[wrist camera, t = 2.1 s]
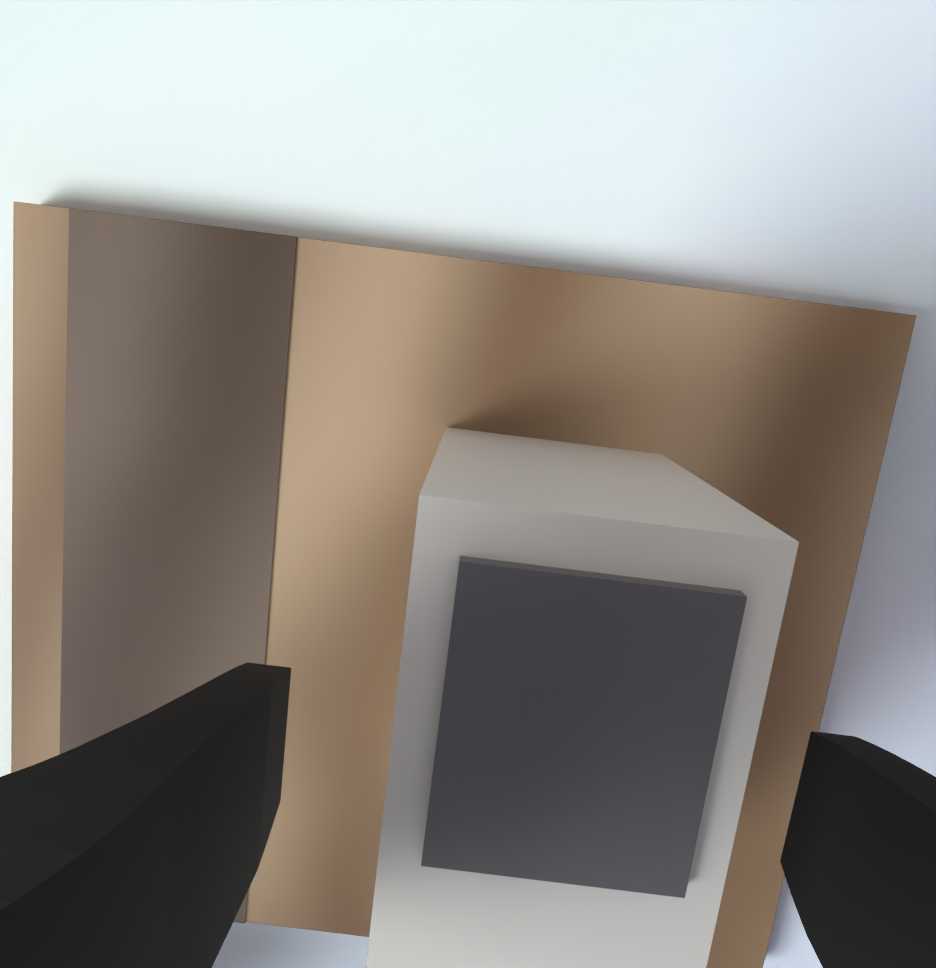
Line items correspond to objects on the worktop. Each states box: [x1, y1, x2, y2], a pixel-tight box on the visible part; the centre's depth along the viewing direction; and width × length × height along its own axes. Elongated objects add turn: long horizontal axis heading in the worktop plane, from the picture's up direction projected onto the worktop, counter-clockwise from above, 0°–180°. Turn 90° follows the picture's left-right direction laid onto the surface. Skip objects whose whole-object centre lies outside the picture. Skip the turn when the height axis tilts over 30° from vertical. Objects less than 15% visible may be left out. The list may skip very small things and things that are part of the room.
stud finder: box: [366, 427, 799, 968], centre depth 11 cm, size 4×8×6 cm, turn 173°
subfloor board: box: [11, 202, 916, 968], centre depth 15 cm, size 16×14×1 cm
